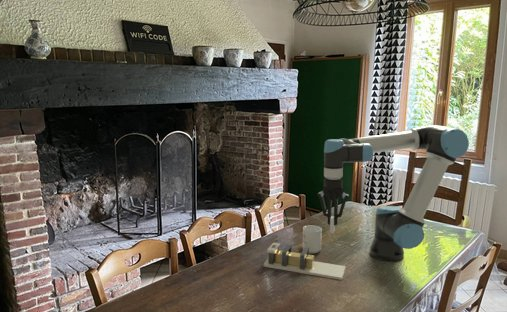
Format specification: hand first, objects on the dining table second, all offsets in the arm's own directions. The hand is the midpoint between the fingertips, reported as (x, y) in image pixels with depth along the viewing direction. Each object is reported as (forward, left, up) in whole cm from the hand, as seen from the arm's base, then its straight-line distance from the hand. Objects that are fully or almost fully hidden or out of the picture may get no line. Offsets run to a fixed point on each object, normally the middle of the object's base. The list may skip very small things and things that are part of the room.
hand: (332, 232), depth 164 cm
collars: (+19, 0, -17) cm, 25 cm away
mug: (+14, -20, -18) cm, 30 cm away
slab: (+12, 0, -18) cm, 21 cm away
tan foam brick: (+18, 0, -17) cm, 24 cm away
